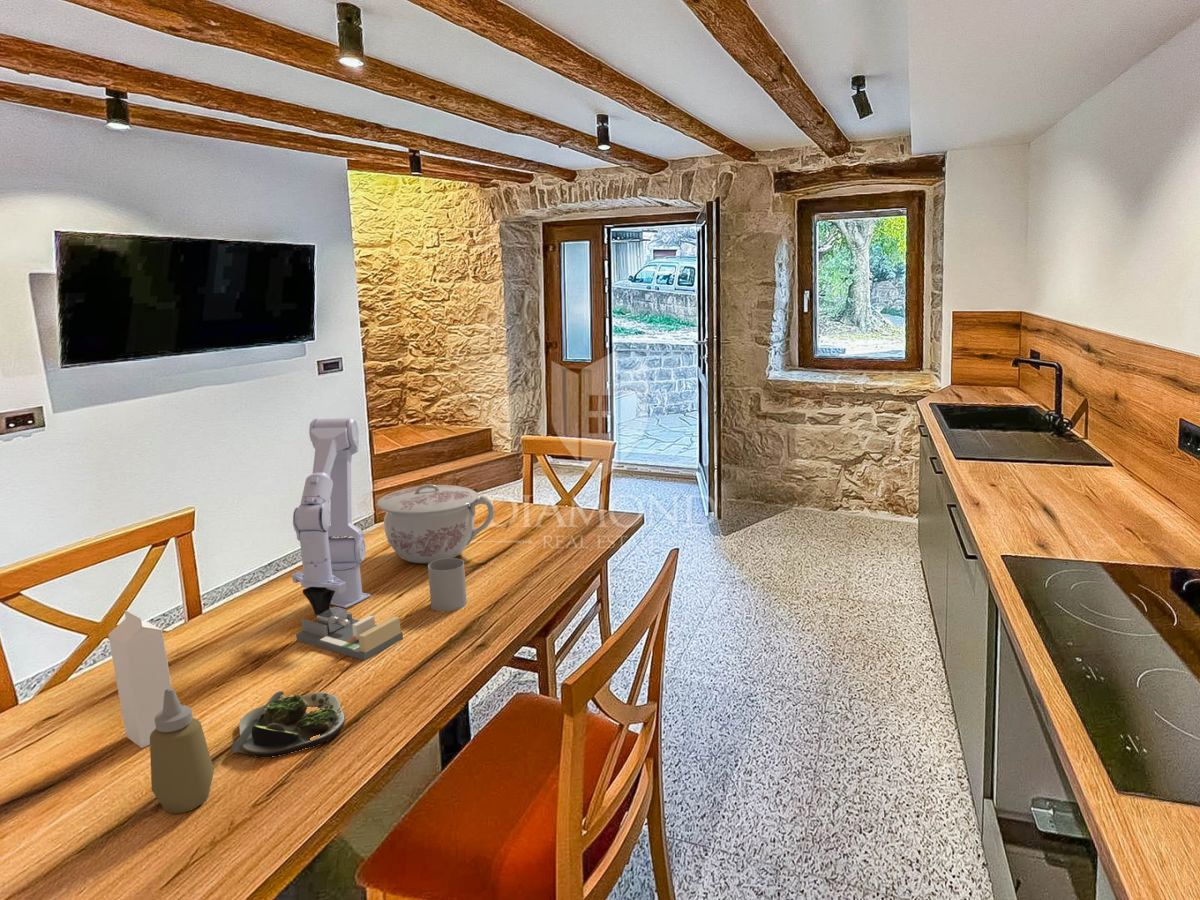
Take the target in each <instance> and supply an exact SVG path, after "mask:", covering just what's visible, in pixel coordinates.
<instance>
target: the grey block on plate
mask: <svg viewBox="0 0 1200 900" xmlns="http://www.w3.org/2000/svg"><path fill="white" fill-rule="evenodd" d="M347 612H348V611H347V608H344V607H340V606H333V607H330V609H328V610H326V611H324V612H322V613H320V614H318V615H317V617H316V620H317V621H316V622H317V623H320V624H324V625H327V629H328V633H332V632H334V631H336V630H338V629H339V628H341V627H343V626H344V627H349V626H350V621H348V620H347Z"/></svg>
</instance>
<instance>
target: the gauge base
mask: <svg viewBox="0 0 1200 900" xmlns="http://www.w3.org/2000/svg"><path fill="white" fill-rule="evenodd" d="M346 612H347V620H348V621H350V626H349V627H344V626H343V627H341V628H339V629H338V630H336V631H334V632H332V633H328V629H327V625H324V624H320V623H317V621H313V620H310V619H306V618H304V619H302V620H301V627H302V628H301V629H302V631H299V632H297V633H296V634H295V637H296V641H297V642H301V643H304V644H307V645H311V646H314V647H317V648H321V649H324V650H328V651H332V652H334V653H338V654H340V655H341V654H342V655H345V656H348V657H351V658H354V659H358V660H361V661H363V662H365V661H366V660H368V659H370V658H372V657H373V656H374V655H377V654H379V653H381V652H382V651H384V650H386V649H387V648H389V647H390V646H393V645H394V644H396V643H397V641H398V642H399V641H401V640H403V639H404V637H403V634H404V633H403V631H401V621H400V617H398V616H394V615H393V616H391V617H390V618H388V619H386V620H385V621H383V622H381V623H379V624H375V627H373V628H371V629H369V630H367V631H366V632H364V633H362V634H360V635H359V639H356V640H354V641H352V642H350V643H347V640H349V639H351V638H353V628H352V625H353V624H355V623H357V622H358V621H360V620H358V619H355V618H353V613H352V612H349V611H346ZM395 642H396V643H395ZM385 648H386V649H385ZM378 652H379V653H378Z"/></svg>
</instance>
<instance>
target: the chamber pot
mask: <svg viewBox="0 0 1200 900" xmlns="http://www.w3.org/2000/svg"><path fill="white" fill-rule="evenodd" d="M479 505H485V506H486V507H487V513H488V515H487V518H486V519H485V520H484V522H483V523H482V524H481V525H480V526H477V527H475V516H476V514H477V513H476V512H477V511H476V507H477V506H479ZM376 507H377V508H378V509H380V510H381V511H383V512H385V515H384V517H383V528H384V532H385V536H386V539H387V542H388V543H387V544H389V546H390V547H391V548H392V549H393V551H394V552H395V553H396V554H397V556H399V557H400V558H401V559H402V560H404V561H406V562H409V563H414V564H421V565H422V564H423V565H428V564H429V563H431V562H432V561H435V560H438V559H443V558H456V557H458V556H459V555H462V553H463V552H464V551H465V549H466V548H467V546H469V545H470V544H471V543H472V541H473V540H474V538H475V537H476V536H477V535H478V534H479V533H481V532H482V531H483V530H485V529H486V528H488V526H489V525H490V523H491V522H492V520H493V519H494V516H495V509H494V508H495V507H494V505H493V502H492V501H491V500H490V499H489V498H488V497H486V496H484V495H480V497H479V495H478V492H477V491H475V490H474V489H472V488H468V487H465V486H459V485H453V484H451V485H449V484H433V483H431V484H430V483H426V484H421V485H418V486H412V487H407V488H403V489H399V490H396V491H392V492H390V493H388V494H385V495H383V496H382V497H380V498H379V499H378V500H377V501H376Z"/></svg>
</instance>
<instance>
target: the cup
mask: <svg viewBox="0 0 1200 900" xmlns="http://www.w3.org/2000/svg"><path fill="white" fill-rule="evenodd" d="M427 569H428V582H429V596H430V608H431V609H432V610H434V611H436V610H437V612H441V611H446V612H453V611H458V610H460V609H462V607H463V608H464V607H465V606H466V605H467V604H468V601H467V588H466V572H465V569H466V568H465V561H464V560H463V559H461V558H456V557H454V558H443V559H438V560H435V561H432V562H431V563H429V564H427Z"/></svg>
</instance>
